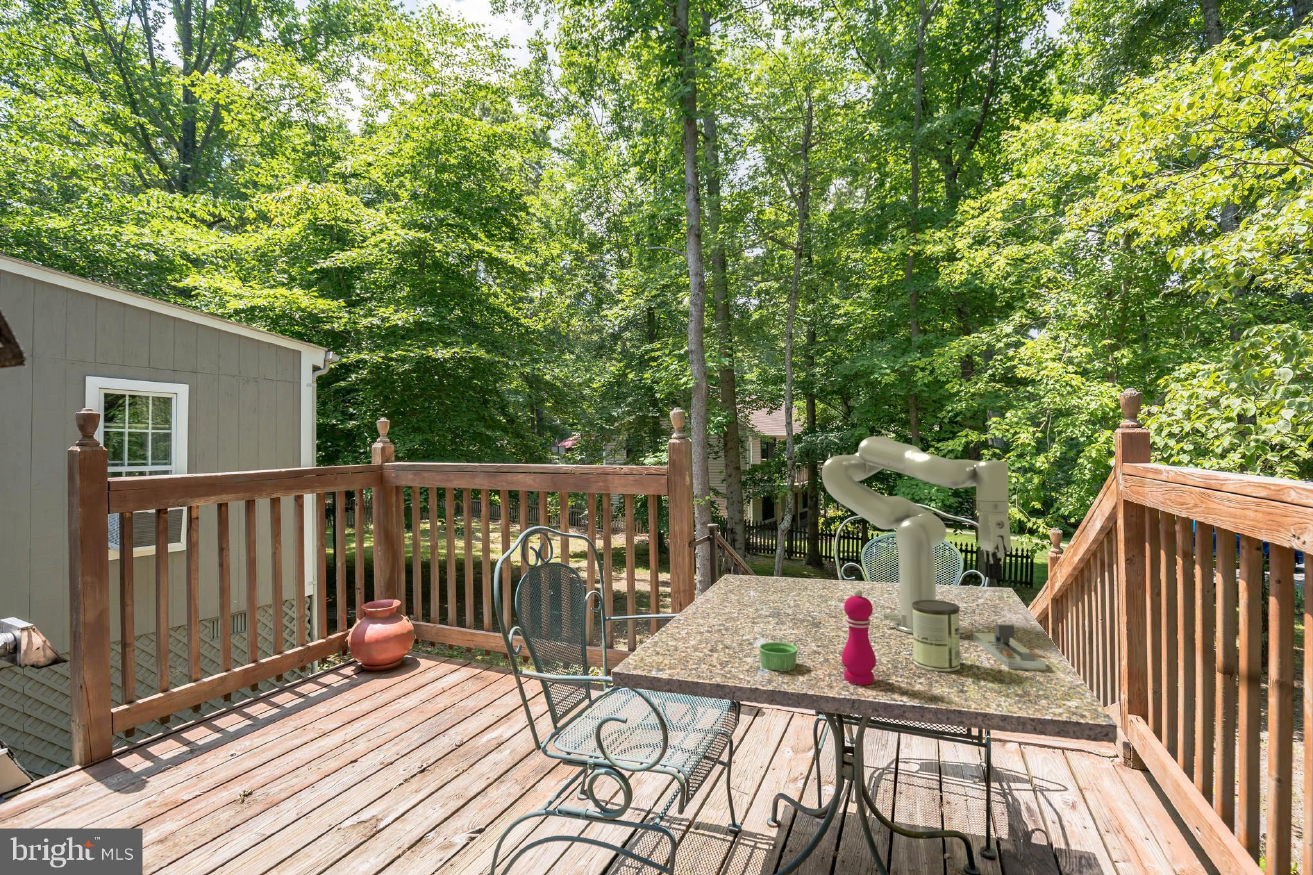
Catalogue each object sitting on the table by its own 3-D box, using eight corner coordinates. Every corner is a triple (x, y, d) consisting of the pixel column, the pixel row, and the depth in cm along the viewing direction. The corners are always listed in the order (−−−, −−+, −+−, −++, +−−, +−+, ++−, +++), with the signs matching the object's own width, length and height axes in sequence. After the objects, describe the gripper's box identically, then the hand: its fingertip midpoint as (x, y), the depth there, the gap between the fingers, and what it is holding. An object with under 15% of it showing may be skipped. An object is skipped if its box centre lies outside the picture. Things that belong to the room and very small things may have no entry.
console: (1008, 668, 150) (1008, 653, 150) (972, 640, 173) (972, 626, 173) (1045, 670, 149) (1045, 654, 149) (1004, 641, 172) (1004, 627, 172)
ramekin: (774, 675, 147) (774, 655, 147) (751, 663, 155) (751, 645, 155) (805, 668, 151) (805, 649, 151) (781, 657, 159) (781, 639, 159)
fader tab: (999, 643, 162) (998, 624, 162) (996, 641, 164) (995, 622, 164) (1014, 643, 161) (1014, 625, 162) (1011, 641, 163) (1010, 622, 164)
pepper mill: (837, 675, 146) (836, 586, 147) (868, 674, 147) (867, 585, 147) (849, 686, 139) (848, 593, 139) (881, 685, 140) (880, 592, 140)
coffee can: (911, 655, 160) (911, 598, 160) (957, 660, 156) (957, 601, 157) (913, 669, 150) (913, 607, 150) (962, 674, 147) (962, 611, 147)
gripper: (1020, 510, 162) (1021, 584, 162) (995, 505, 178) (996, 572, 177) (988, 510, 163) (989, 583, 163) (967, 505, 179) (967, 572, 178)
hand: (993, 577), depth 170 cm, fingers closed
